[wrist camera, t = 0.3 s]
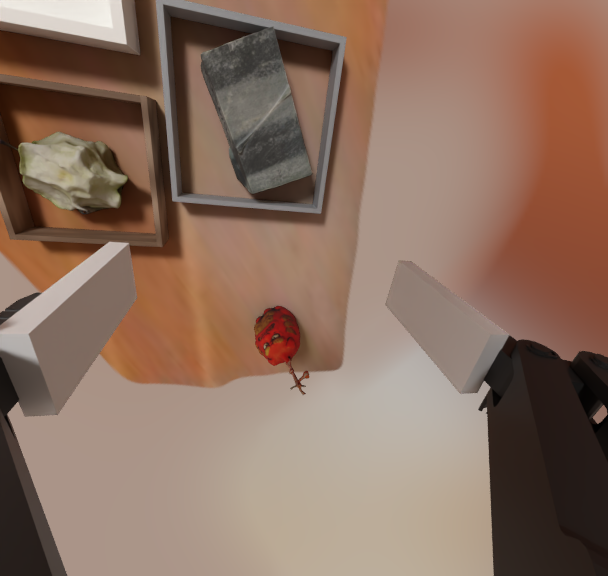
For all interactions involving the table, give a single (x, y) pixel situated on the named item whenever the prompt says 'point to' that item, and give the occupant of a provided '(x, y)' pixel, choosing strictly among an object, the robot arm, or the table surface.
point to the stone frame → (175, 6)
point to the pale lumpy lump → (71, 172)
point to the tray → (75, 22)
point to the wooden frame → (14, 208)
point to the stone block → (256, 111)
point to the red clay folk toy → (279, 338)
